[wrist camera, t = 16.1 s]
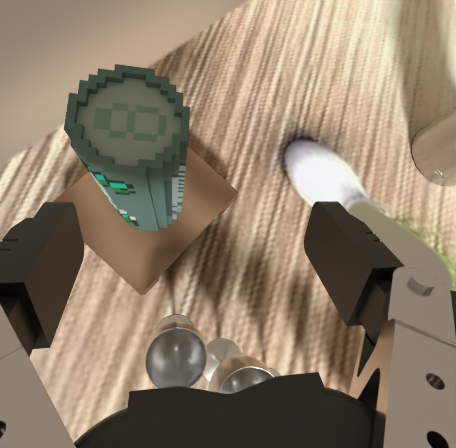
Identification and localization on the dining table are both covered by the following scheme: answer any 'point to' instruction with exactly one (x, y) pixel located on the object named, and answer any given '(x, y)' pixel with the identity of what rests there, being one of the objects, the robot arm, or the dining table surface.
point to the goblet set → (199, 359)
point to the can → (132, 142)
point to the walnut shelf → (148, 240)
